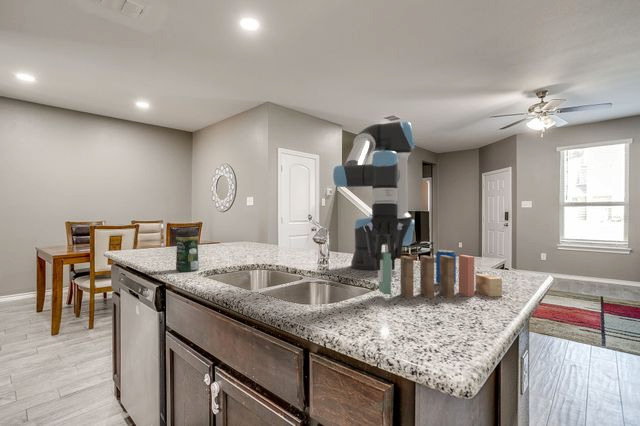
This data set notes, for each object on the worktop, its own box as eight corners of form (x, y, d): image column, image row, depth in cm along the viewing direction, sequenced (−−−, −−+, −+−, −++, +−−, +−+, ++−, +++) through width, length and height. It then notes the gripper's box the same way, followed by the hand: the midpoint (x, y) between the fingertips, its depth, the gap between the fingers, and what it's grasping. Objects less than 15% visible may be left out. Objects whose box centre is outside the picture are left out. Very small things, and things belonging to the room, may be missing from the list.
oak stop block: (475, 290, 102) (475, 274, 102) (486, 290, 103) (486, 273, 103) (489, 296, 95) (489, 278, 95) (501, 296, 96) (501, 278, 96)
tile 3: (420, 293, 99) (420, 255, 98) (426, 293, 99) (426, 255, 99) (427, 298, 94) (427, 258, 94) (434, 297, 94) (434, 257, 94)
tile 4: (439, 292, 99) (439, 255, 99) (445, 292, 100) (445, 255, 100) (448, 297, 94) (448, 257, 94) (454, 296, 95) (454, 257, 95)
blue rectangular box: (452, 282, 114) (452, 249, 114) (458, 286, 107) (458, 252, 107) (434, 282, 114) (434, 249, 114) (439, 286, 108) (439, 251, 108)
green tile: (378, 290, 97) (378, 251, 97) (385, 290, 97) (385, 251, 97) (384, 294, 92) (384, 253, 92) (390, 294, 92) (390, 253, 92)
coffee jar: (172, 270, 137) (172, 228, 137) (189, 267, 144) (189, 227, 144) (184, 273, 132) (184, 229, 132) (201, 270, 138) (201, 228, 138)
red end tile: (458, 292, 100) (458, 254, 100) (464, 292, 100) (464, 254, 100) (468, 296, 95) (468, 257, 95) (474, 296, 96) (474, 257, 95)
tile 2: (400, 294, 98) (400, 256, 98) (406, 294, 98) (406, 256, 98) (407, 298, 93) (407, 258, 93) (413, 298, 93) (413, 258, 93)
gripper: (363, 202, 90) (363, 284, 90) (413, 202, 92) (413, 282, 92) (357, 203, 97) (357, 278, 97) (403, 203, 99) (403, 277, 99)
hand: (384, 280), depth 94 cm, fingers closed on green tile, 2 cm apart
